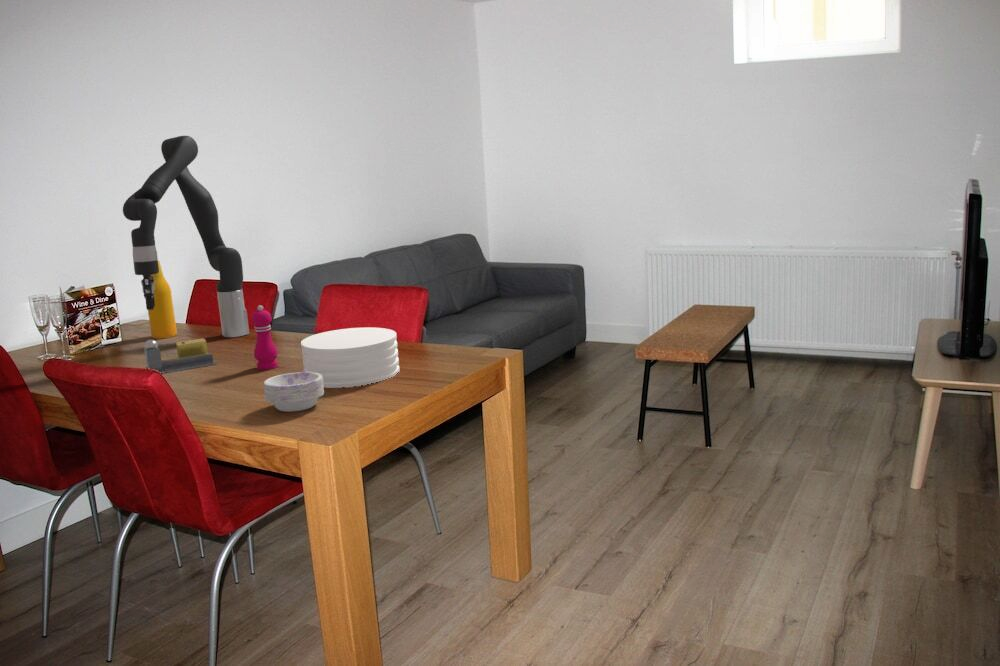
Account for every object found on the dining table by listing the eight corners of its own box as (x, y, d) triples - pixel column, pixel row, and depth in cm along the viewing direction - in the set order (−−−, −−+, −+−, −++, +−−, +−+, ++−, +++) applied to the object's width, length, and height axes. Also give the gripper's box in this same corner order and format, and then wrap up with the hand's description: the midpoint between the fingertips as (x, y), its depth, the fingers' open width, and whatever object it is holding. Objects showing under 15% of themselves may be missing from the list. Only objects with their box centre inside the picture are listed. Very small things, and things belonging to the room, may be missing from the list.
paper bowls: (316, 395, 235) (313, 367, 233) (332, 408, 221) (329, 379, 220) (260, 405, 228) (257, 377, 226) (274, 420, 214) (270, 389, 213)
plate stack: (418, 367, 259) (415, 330, 256) (358, 392, 235) (354, 352, 233) (347, 360, 273) (343, 325, 270) (284, 383, 249) (280, 345, 247)
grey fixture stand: (209, 357, 287) (205, 328, 285) (216, 364, 277) (211, 334, 275) (146, 367, 278) (141, 337, 276) (150, 375, 268) (145, 344, 265)
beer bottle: (182, 334, 329) (171, 260, 323) (162, 339, 321) (150, 263, 315) (167, 332, 334) (156, 259, 328) (146, 338, 326) (135, 263, 320)
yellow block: (205, 353, 294) (203, 337, 293) (208, 356, 289) (206, 340, 288) (178, 358, 290) (175, 341, 289) (180, 361, 285) (178, 344, 284)
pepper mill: (250, 369, 267) (242, 307, 263) (267, 363, 274) (259, 302, 269) (268, 371, 264) (260, 308, 260) (284, 365, 270) (276, 303, 266)
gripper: (156, 260, 276) (162, 309, 279) (158, 257, 290) (163, 304, 292) (131, 262, 274) (137, 311, 277) (134, 259, 287) (140, 306, 290)
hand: (151, 308), depth 285 cm, fingers open, 8 cm apart
